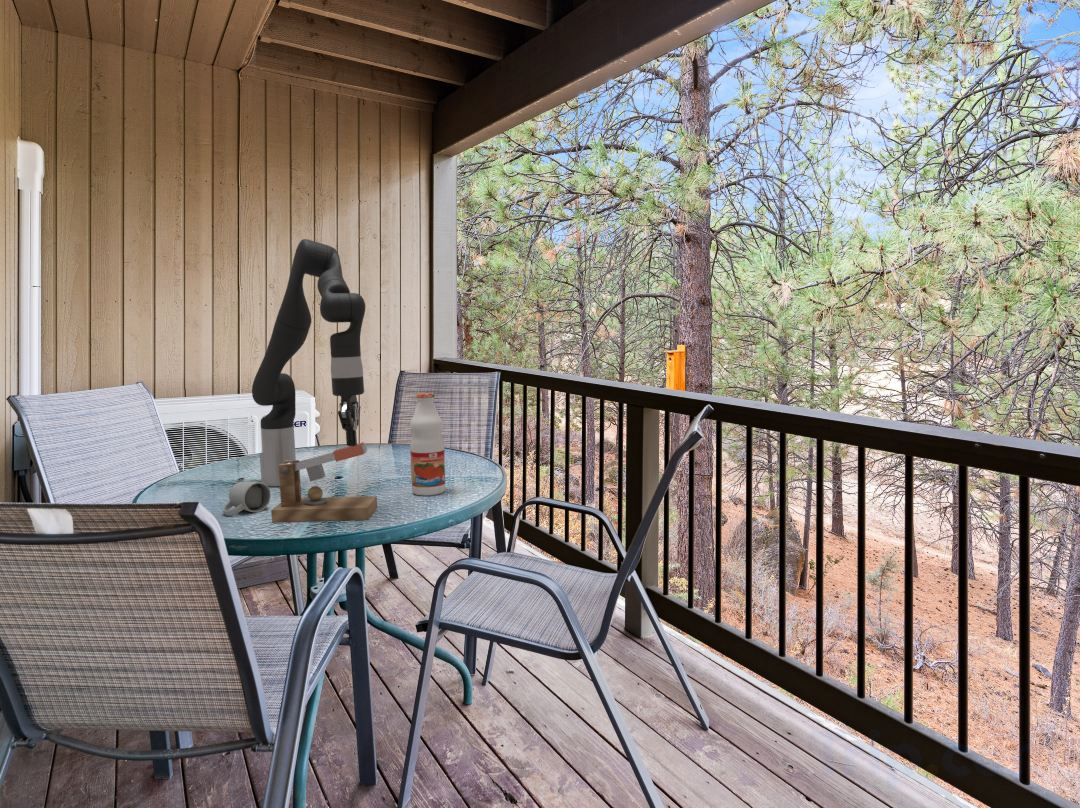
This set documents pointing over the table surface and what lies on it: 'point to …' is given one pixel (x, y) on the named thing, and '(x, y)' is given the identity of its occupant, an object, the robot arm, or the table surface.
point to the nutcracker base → (316, 502)
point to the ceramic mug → (247, 497)
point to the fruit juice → (427, 448)
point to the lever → (328, 460)
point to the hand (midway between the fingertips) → (351, 445)
